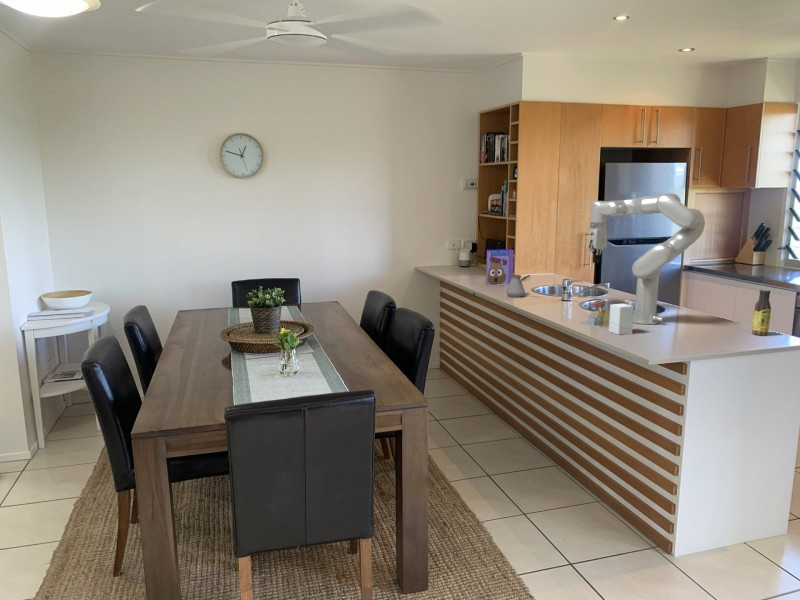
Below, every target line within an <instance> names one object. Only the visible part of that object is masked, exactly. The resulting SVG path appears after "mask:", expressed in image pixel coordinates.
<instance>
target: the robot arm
mask: <svg viewBox="0 0 800 600" xmlns="http://www.w3.org/2000/svg"><path fill="white" fill-rule="evenodd" d="M652 214H662V215H664V217H666V218H668V220H670V221H671V222H672V223H674V224H676V225H677V226H678V227H679V228H680V230H678V231H676V233H674V234H673V235H672V236H671V237H670V238H668V239H667V240H665V241H664V242H661V243H660V242H659V243H658V244H655V245H654V246H652V247H650V249H649V250H647V251H646V252H645V253H644V254H643V255H641V256H640V257H638V258H637V259H636V260H635V261H634V263H633V264H632V266H631V272H632V275H634V277H635V278H637V281H636V289H635V290H636V291H635V302H634V303H635V306H634V316H633V323H635V324H637V325H638V324H640V325H657V324H659V323H660V322H664V317H663V316H660V315H659V313H657V305H658V292H659V281H660V275H661V269H662V268H663V267H664V266H665V265H666V264H668V263H670V262H673V261H674V260H676V258H678V256H679V255H680V256H681V254H682V253H684V251H686V250H687V249H688V248H689V247H691V246H692V245H693V244H695V242H696V241H698V240H699V238H700V237H701V236H702V234H703V233H704V230H705V227H706V219H705V217H704V214H703V213H702V212H701V210H699V209H696V208H689V207H688V206H686V205H685V204H683V203H682V202H681V198H680V196H678V194H676V193H663V194H655V195H654V194H653V195H646V196H645V195H644V196H640V197H638V198H631V199H630V198H629V199H622V200H621V199H620V200H608V201H607V200H606V201H605V200H594V201H592V202H591V203H590V222H589V223H590V225H589V233H588V244H587V246H588V249H589V252H590V253H591V254H592V261H591V262H592V264H599V263H601V255H602V252H603V251H604V250H605V249H607V247H608V234H607V217H620V216H628V215H652Z"/></svg>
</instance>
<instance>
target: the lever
mask: <svg viewBox="0 0 800 600" xmlns="http://www.w3.org/2000/svg"><path fill="white" fill-rule="evenodd" d="M606 303H607V301H606V300H600V299H599V301H594V302H592V303H589V308H598V307H605V305H606Z"/></svg>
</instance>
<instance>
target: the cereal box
mask: <svg viewBox="0 0 800 600" xmlns="http://www.w3.org/2000/svg"><path fill="white" fill-rule="evenodd" d="M514 254H515V253H514V249H512V248H510V249H507V248H506V249H503V248H501V249H486V274H485V285H486V284H487V285H486V286H488V285H497V284H509V283H510V281H511V279H512V278H511V275H514V257H515V256H514Z"/></svg>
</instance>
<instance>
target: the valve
mask: <svg viewBox="0 0 800 600" xmlns="http://www.w3.org/2000/svg"><path fill="white" fill-rule="evenodd" d="M606 309H607V307H605V306H604V307H601V306H598V310H593V314H589V316H588V318H587V320H585V321H580V322H578V324H579V325H585V326H591V327H596V328H602V329H603V328H605V327H606V328H607V327H609V318H610V310H606Z"/></svg>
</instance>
